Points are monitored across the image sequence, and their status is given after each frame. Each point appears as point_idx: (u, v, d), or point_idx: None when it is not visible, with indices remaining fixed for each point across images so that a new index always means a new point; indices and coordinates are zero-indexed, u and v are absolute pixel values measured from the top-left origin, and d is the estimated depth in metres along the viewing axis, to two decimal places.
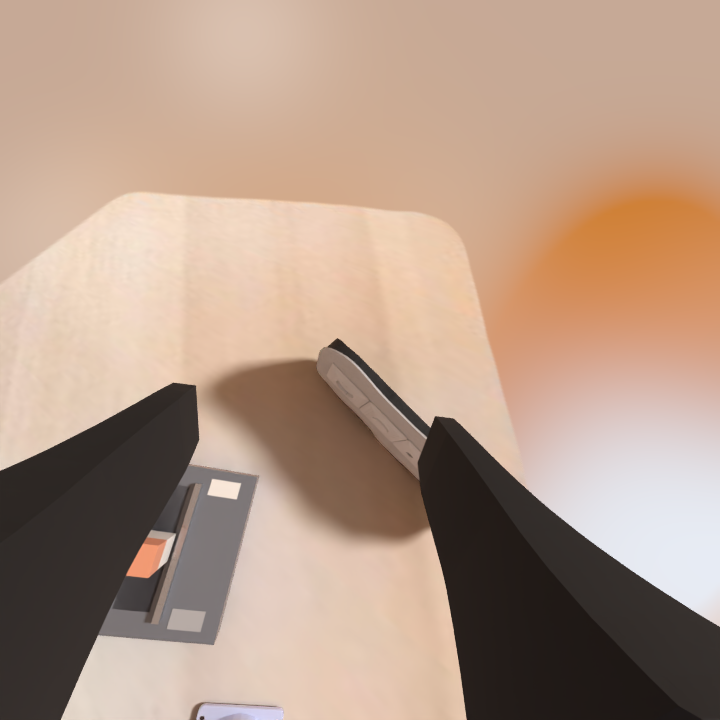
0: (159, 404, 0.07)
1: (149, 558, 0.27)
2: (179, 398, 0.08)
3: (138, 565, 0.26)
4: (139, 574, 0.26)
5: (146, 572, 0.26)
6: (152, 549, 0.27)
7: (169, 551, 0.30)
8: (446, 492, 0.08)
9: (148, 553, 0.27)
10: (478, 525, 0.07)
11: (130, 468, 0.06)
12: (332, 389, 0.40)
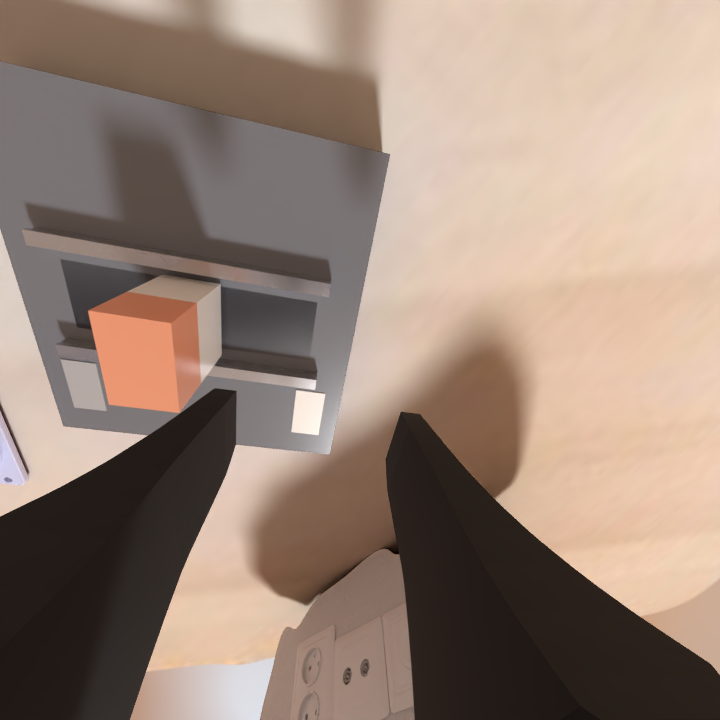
0: (208, 410, 0.08)
1: (149, 400, 0.11)
2: (225, 404, 0.08)
3: (128, 383, 0.11)
4: (110, 388, 0.11)
5: (119, 400, 0.11)
6: (169, 403, 0.11)
7: None
8: (406, 489, 0.08)
9: (158, 397, 0.11)
10: (430, 521, 0.07)
11: (187, 473, 0.06)
12: None
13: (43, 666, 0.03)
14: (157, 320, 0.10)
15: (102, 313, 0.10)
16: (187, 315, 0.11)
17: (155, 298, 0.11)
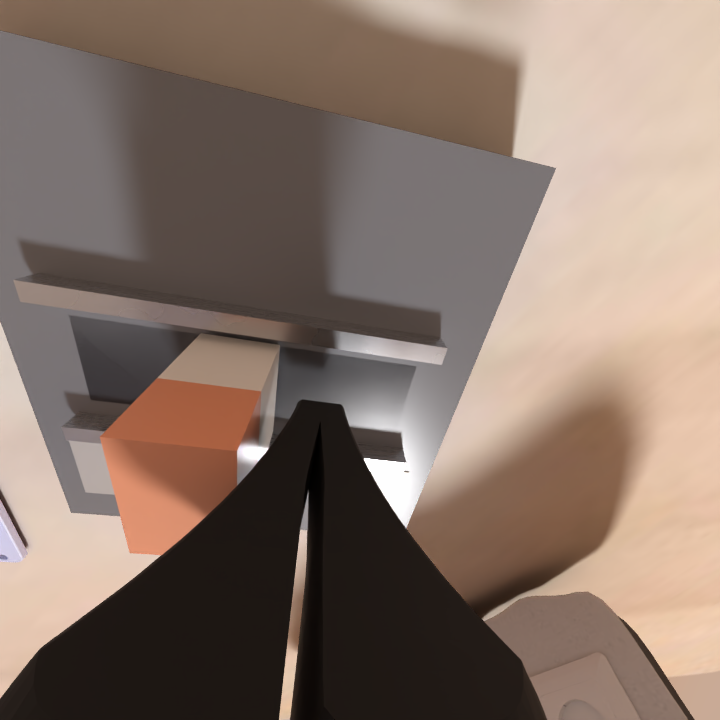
0: (309, 422, 0.08)
1: None
2: (321, 415, 0.08)
3: (161, 528, 0.07)
4: (133, 534, 0.07)
5: (147, 548, 0.07)
6: None
7: None
8: (314, 480, 0.08)
9: None
10: (318, 512, 0.06)
11: (306, 484, 0.07)
12: (545, 596, 0.21)
13: None
14: (214, 446, 0.06)
15: (124, 440, 0.06)
16: (252, 417, 0.07)
17: (200, 389, 0.07)
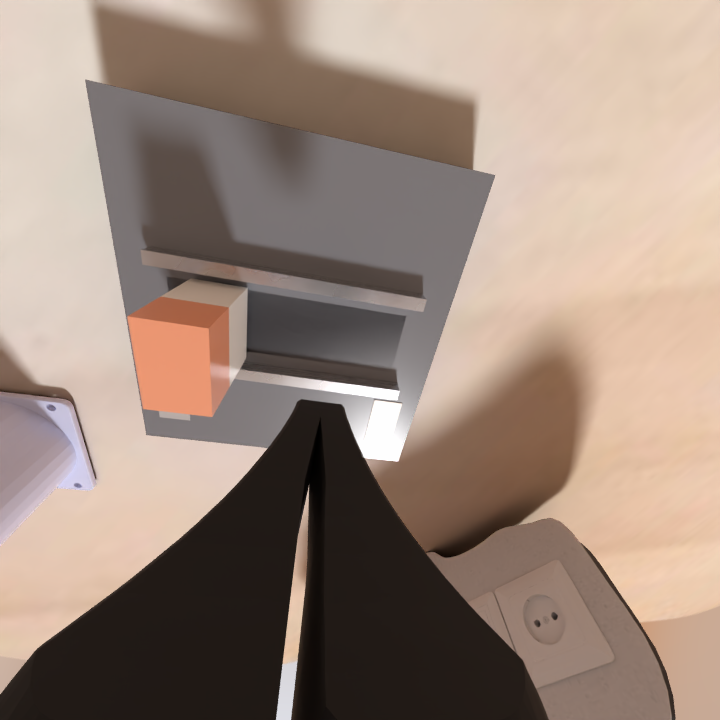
0: (309, 422, 0.08)
1: (182, 405, 0.11)
2: (320, 415, 0.08)
3: (163, 388, 0.11)
4: (145, 393, 0.11)
5: (154, 405, 0.11)
6: (202, 407, 0.11)
7: None
8: (315, 480, 0.08)
9: (192, 401, 0.11)
10: (319, 512, 0.06)
11: (305, 484, 0.07)
12: (517, 525, 0.25)
13: None
14: (195, 325, 0.10)
15: (141, 319, 0.10)
16: (221, 319, 0.11)
17: (188, 303, 0.11)
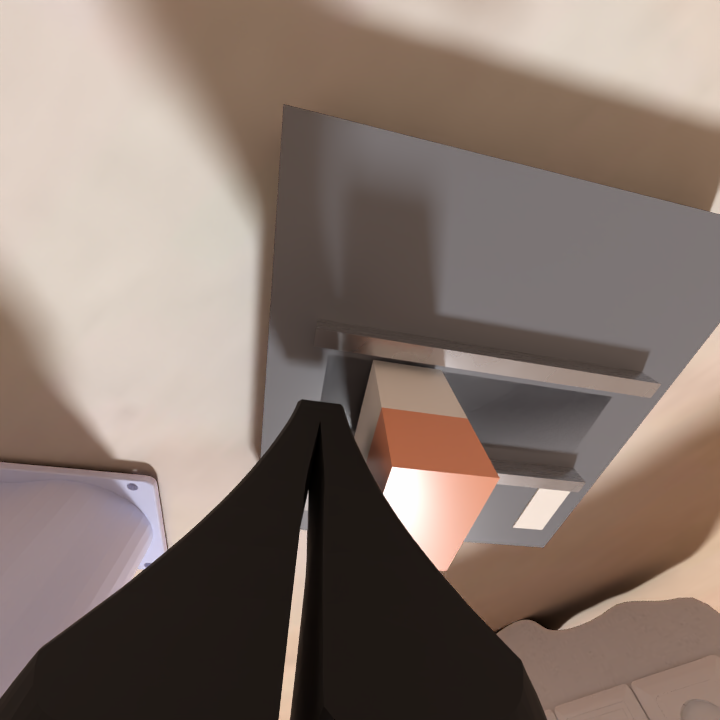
0: (309, 422, 0.08)
1: None
2: (321, 415, 0.08)
3: None
4: None
5: None
6: (439, 562, 0.08)
7: None
8: (314, 480, 0.08)
9: (429, 556, 0.08)
10: (317, 512, 0.06)
11: (306, 484, 0.07)
12: (645, 601, 0.22)
13: None
14: (480, 474, 0.07)
15: (410, 469, 0.07)
16: (475, 444, 0.08)
17: (422, 417, 0.08)
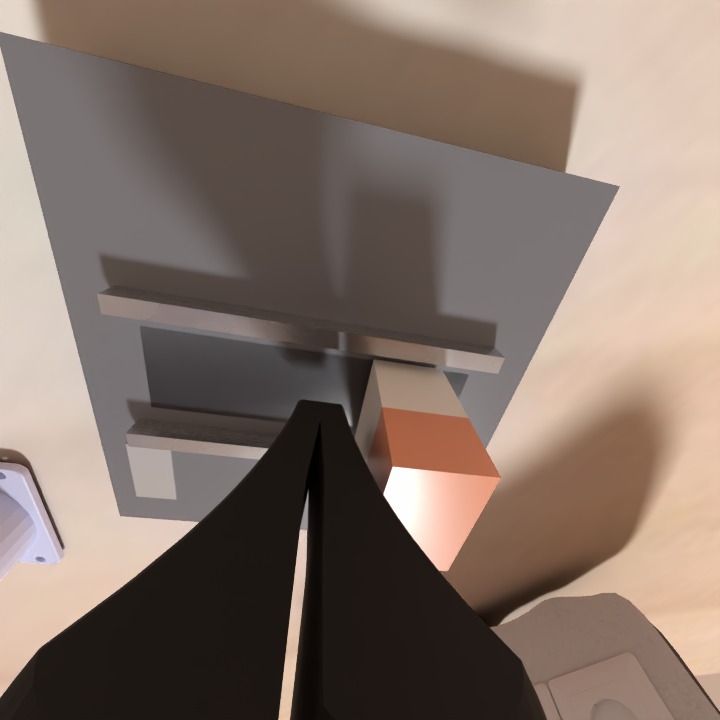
0: (309, 422, 0.08)
1: None
2: (321, 415, 0.08)
3: None
4: None
5: None
6: (440, 562, 0.08)
7: None
8: (314, 480, 0.08)
9: (430, 556, 0.08)
10: (318, 512, 0.06)
11: (306, 484, 0.07)
12: (571, 597, 0.21)
13: None
14: (481, 474, 0.07)
15: (411, 469, 0.07)
16: (476, 444, 0.08)
17: (423, 417, 0.08)
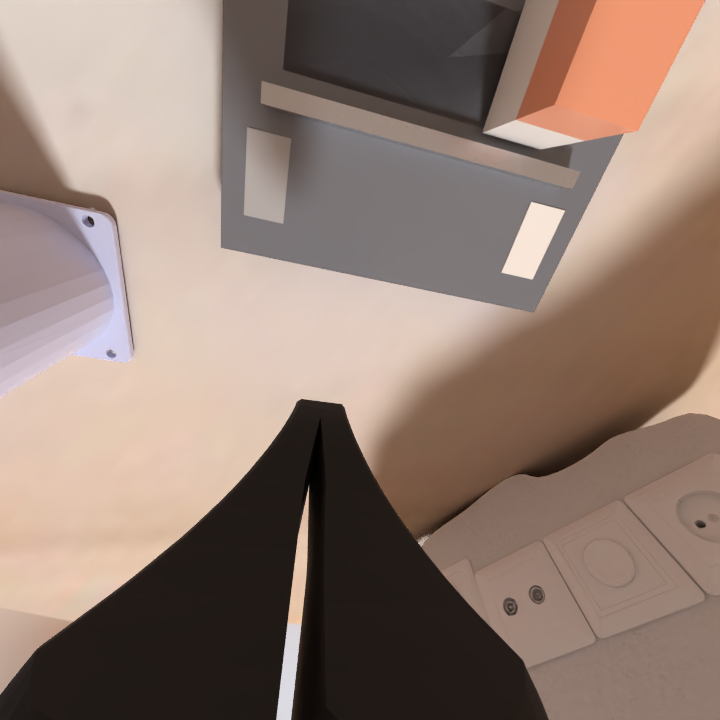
0: (308, 422, 0.08)
1: (612, 100, 0.08)
2: (320, 415, 0.08)
3: (607, 59, 0.07)
4: (576, 68, 0.07)
5: (574, 97, 0.08)
6: (636, 108, 0.08)
7: (511, 138, 0.11)
8: (315, 480, 0.08)
9: (629, 94, 0.08)
10: (318, 512, 0.06)
11: (305, 484, 0.07)
12: (640, 428, 0.21)
13: None
14: None
15: None
16: None
17: None
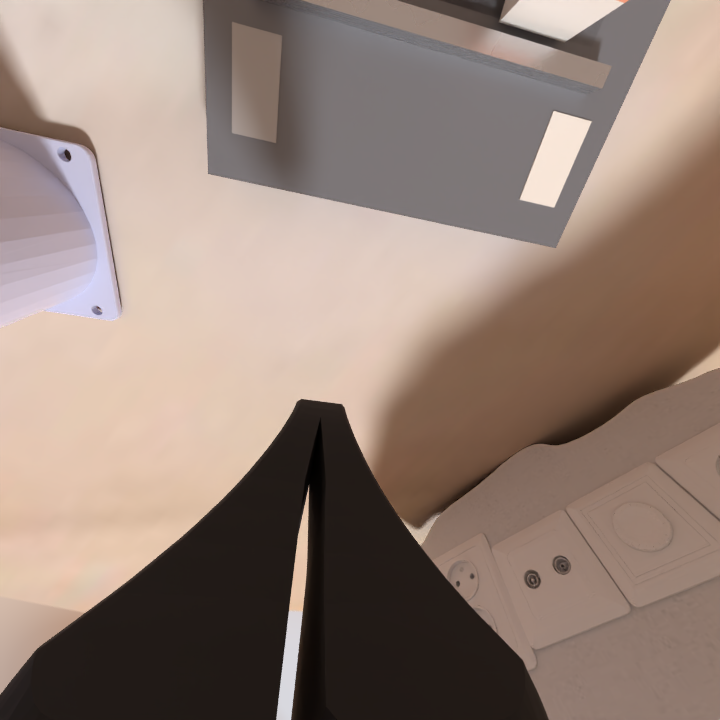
0: (309, 422, 0.08)
1: None
2: (320, 415, 0.08)
3: None
4: None
5: None
6: None
7: (532, 24, 0.10)
8: (315, 480, 0.08)
9: None
10: (319, 512, 0.06)
11: (305, 484, 0.07)
12: None
13: None
14: None
15: None
16: None
17: None
